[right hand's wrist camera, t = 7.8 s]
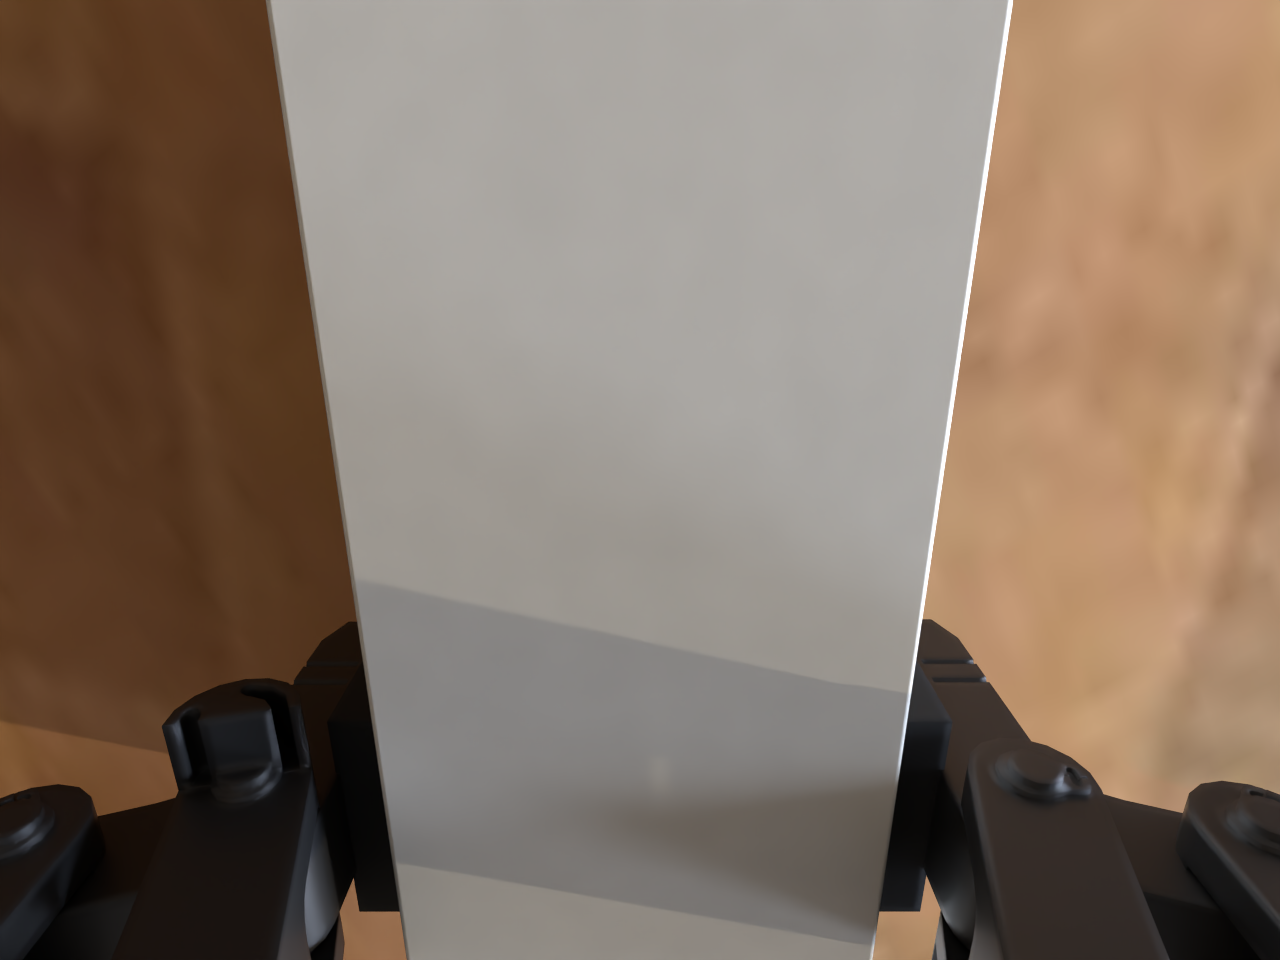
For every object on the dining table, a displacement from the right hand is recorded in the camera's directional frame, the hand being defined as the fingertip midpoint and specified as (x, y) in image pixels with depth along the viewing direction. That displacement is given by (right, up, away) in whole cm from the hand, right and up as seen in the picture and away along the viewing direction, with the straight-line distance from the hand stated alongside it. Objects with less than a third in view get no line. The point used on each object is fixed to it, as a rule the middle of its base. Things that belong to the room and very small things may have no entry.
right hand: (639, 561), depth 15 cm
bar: (0, +32, -11) cm, 34 cm away
